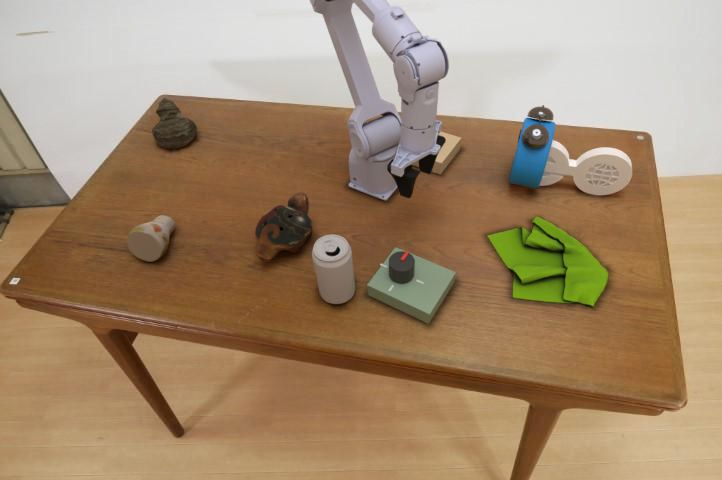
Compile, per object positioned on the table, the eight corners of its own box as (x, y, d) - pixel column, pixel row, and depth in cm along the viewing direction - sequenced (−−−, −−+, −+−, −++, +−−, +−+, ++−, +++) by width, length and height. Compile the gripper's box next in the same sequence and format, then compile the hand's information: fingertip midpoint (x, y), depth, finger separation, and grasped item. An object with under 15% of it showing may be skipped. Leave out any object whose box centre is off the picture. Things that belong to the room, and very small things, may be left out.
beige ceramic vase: (188, 224, 98) (172, 211, 88) (171, 270, 96) (153, 261, 86) (152, 214, 97) (132, 199, 88) (134, 259, 96) (113, 249, 86)
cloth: (608, 318, 80) (613, 310, 78) (475, 290, 84) (477, 281, 82) (608, 231, 92) (612, 222, 90) (492, 210, 96) (494, 202, 95)
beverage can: (328, 312, 83) (320, 268, 73) (314, 286, 86) (304, 241, 77) (361, 297, 84) (357, 252, 75) (346, 272, 88) (340, 226, 79)
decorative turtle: (328, 221, 96) (324, 194, 90) (290, 280, 89) (283, 254, 82) (286, 207, 99) (279, 179, 92) (246, 262, 91) (235, 236, 85)
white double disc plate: (620, 191, 98) (640, 151, 90) (620, 199, 97) (640, 159, 89) (510, 174, 103) (520, 135, 95) (509, 181, 102) (519, 141, 94)
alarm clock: (534, 202, 97) (553, 140, 85) (503, 196, 99) (518, 134, 87) (542, 162, 105) (561, 101, 93) (514, 157, 106) (529, 96, 95)
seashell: (203, 100, 115) (164, 96, 116) (176, 99, 104) (134, 95, 105) (204, 148, 119) (167, 144, 120) (179, 152, 108) (138, 148, 109)
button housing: (392, 158, 108) (392, 139, 104) (413, 134, 113) (413, 115, 109) (440, 175, 104) (442, 156, 100) (460, 149, 109) (462, 130, 105)
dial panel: (366, 294, 85) (365, 283, 82) (394, 256, 90) (394, 245, 88) (428, 324, 80) (429, 313, 78) (454, 282, 86) (456, 271, 83)
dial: (406, 287, 82) (407, 273, 79) (384, 277, 83) (383, 263, 80) (418, 270, 84) (419, 255, 81) (396, 260, 85) (396, 246, 82)
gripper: (419, 151, 73) (415, 215, 84) (460, 104, 80) (452, 168, 91) (379, 137, 76) (381, 201, 86) (423, 93, 83) (419, 156, 94)
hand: (415, 183), depth 89 cm, fingers open, 7 cm apart
